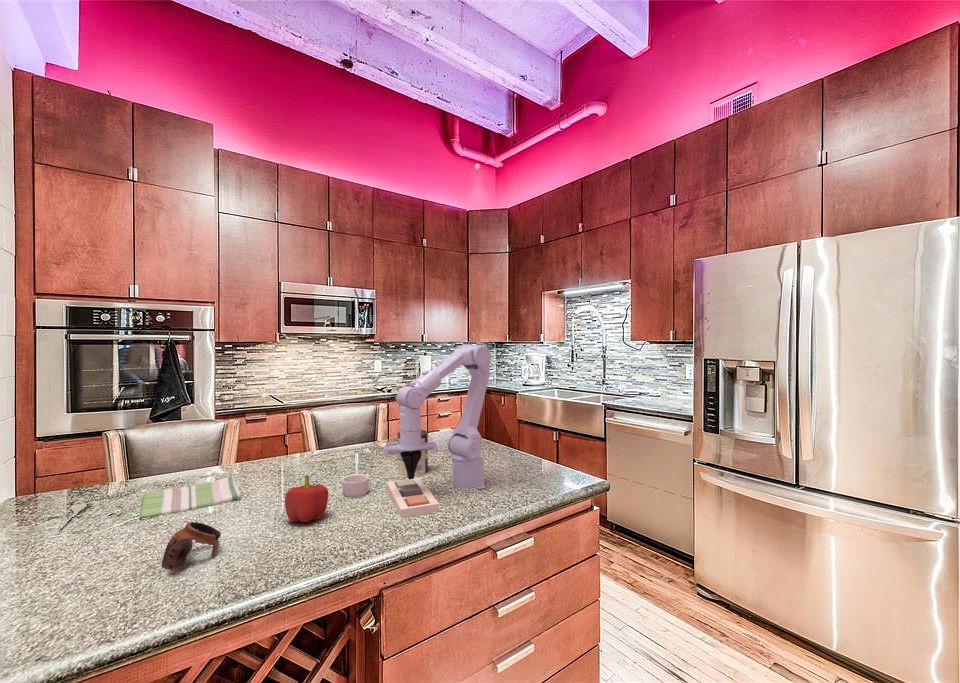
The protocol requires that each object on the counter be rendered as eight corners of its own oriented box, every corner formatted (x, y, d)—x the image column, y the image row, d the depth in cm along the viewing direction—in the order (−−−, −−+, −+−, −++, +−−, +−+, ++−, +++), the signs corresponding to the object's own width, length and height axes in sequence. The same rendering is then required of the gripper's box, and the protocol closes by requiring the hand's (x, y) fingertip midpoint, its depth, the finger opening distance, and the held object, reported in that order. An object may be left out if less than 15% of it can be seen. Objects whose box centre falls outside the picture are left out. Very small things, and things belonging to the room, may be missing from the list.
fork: (43, 547, 101) (42, 536, 101) (83, 505, 120) (83, 496, 120) (58, 545, 102) (57, 534, 102) (96, 504, 121) (95, 494, 121)
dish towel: (242, 502, 123) (241, 489, 123) (139, 523, 109) (139, 509, 109) (234, 485, 137) (234, 474, 137) (143, 501, 123) (142, 489, 123)
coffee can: (411, 467, 152) (411, 428, 151) (434, 472, 146) (434, 431, 146) (390, 476, 143) (390, 433, 143) (414, 481, 137) (414, 437, 137)
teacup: (370, 499, 123) (370, 480, 123) (342, 503, 120) (342, 484, 120) (366, 487, 132) (365, 470, 132) (339, 491, 129) (339, 473, 129)
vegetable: (285, 513, 113) (285, 476, 113) (327, 507, 117) (326, 471, 117) (284, 531, 103) (283, 489, 103) (329, 523, 107) (329, 483, 107)
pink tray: (419, 487, 132) (419, 477, 132) (439, 515, 112) (439, 503, 112) (386, 491, 128) (386, 481, 128) (400, 521, 108) (400, 509, 108)
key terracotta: (423, 503, 117) (423, 494, 117) (427, 510, 112) (427, 501, 112) (405, 506, 115) (405, 497, 115) (409, 513, 110) (409, 503, 110)
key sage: (412, 486, 130) (411, 478, 130) (415, 492, 125) (415, 483, 125) (396, 489, 128) (396, 480, 128) (399, 494, 123) (399, 486, 123)
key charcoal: (417, 492, 123) (417, 483, 123) (421, 498, 119) (421, 489, 119) (400, 494, 121) (400, 485, 121) (404, 500, 117) (404, 491, 117)
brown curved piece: (169, 554, 93) (191, 516, 96) (210, 570, 94) (231, 533, 97) (140, 568, 82) (167, 525, 85) (188, 587, 83) (213, 543, 86)
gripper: (431, 424, 126) (432, 470, 126) (381, 428, 121) (382, 476, 121) (438, 429, 120) (438, 478, 120) (386, 434, 114) (386, 484, 114)
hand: (410, 477), depth 120 cm, fingers closed
